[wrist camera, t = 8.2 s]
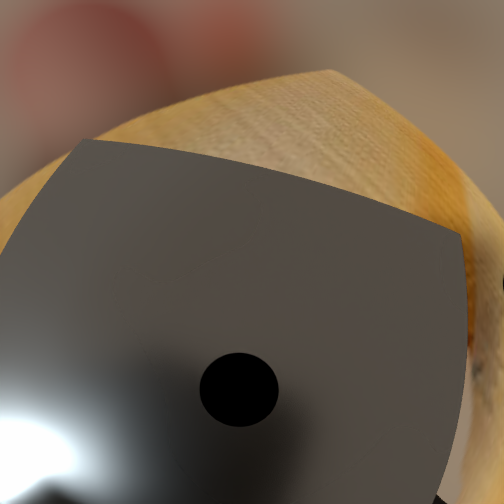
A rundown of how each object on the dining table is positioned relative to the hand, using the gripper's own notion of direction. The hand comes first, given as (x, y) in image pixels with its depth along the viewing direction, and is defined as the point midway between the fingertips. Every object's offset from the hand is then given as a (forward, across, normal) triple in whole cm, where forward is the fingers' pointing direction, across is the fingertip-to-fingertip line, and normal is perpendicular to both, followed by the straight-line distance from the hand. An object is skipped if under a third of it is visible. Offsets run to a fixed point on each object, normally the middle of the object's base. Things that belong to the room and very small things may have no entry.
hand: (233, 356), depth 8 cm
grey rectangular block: (+4, 0, +6) cm, 7 cm away
